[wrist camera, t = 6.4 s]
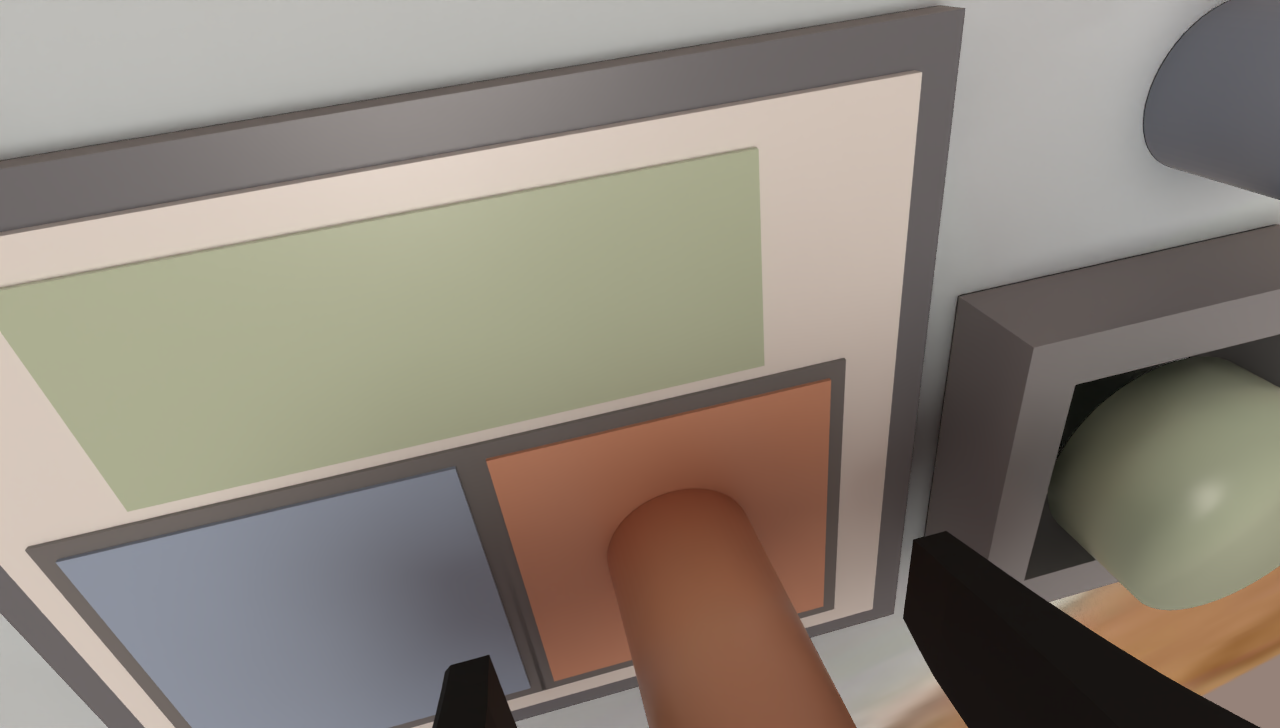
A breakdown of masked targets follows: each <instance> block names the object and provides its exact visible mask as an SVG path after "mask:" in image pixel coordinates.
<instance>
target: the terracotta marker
mask: <svg viewBox="0 0 1280 728" xmlns="http://www.w3.org/2000/svg"><path fill="white" fill-rule="evenodd" d="M607 561H608V566H609V570H610V574H611V578H612V582H613V586H614V590H615V594H616V598H617V602H618V606H619V610H620V614H621V618H622V622H623V626H624V630H625V634H626V638H627V642H628V646H629V650H630V654H631V657H632V661H633V665H634V669H635V673H636V677H637V681H638V685H639V689H640V693H641V697H642V701H643V705H644V709H645V713H646V717H647V721H648V725H649V728H856V726H855V724H854V722H853V720H852V718H851V716H850V714H849V712H848V710H847V708H846V706H845V704H844V703H843V701H842V699H841V697H840V695H839V693H838V691H837V689H836V687H835V685H834V683H833V681H832V679H831V677H830V676H829V674H828V672H827V670H826V668H825V666H824V664H823V662H822V660H821V658H820V656H819V654H818V652H817V650H816V649H815V647H814V645H813V643H812V641H811V639H810V637H809V635H808V633H807V631H806V629H805V627H804V625H803V623H802V622H801V620H800V618H799V616H798V614H797V612H796V610H795V608H794V606H793V604H792V602H791V600H790V598H789V596H788V595H787V593H786V591H785V589H784V587H783V585H782V583H781V581H780V579H779V577H778V575H777V573H776V571H775V569H774V568H773V566H772V564H771V562H770V560H769V558H768V556H767V554H766V552H765V550H764V548H763V546H762V544H761V542H760V541H759V539H758V537H757V535H756V533H755V531H754V529H753V527H752V525H751V523H750V521H749V519H748V517H747V516H746V514H745V512H744V510H743V509H742V507H741V506H740V505H739V504H738V503H737V502H736V501H735V500H734V499H732V498H731V497H729V496H727V495H725V494H723V493H720V492H717V491H713V490H708V489H684V490H677V491H673V492H669V493H666V494H663V495H660V496H658V497H656V498H654V499H651V500H649V501H648V502H646V503H644V504H643V505H641V506H640V507H638V508H637V509H635V510H634V511H633V512H632V513H630V514H629V515H628V516H627V517H626V518H625V519H624V520H623V521H622V523H621V524H620V525H619V526H618V528H617V529H616V531H615V532H614V534H613V536H612V538H611V541H610V544H609V547H608V553H607Z"/></svg>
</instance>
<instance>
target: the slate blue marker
mask: <svg viewBox="0 0 1280 728" xmlns="http://www.w3.org/2000/svg"><path fill="white" fill-rule="evenodd" d="M1144 134H1145V140H1146V143H1147V146H1148V148H1149V150H1150V152H1151V153H1152V155H1153V156H1154V157H1155V158H1156V159H1157V160H1158V161H1159V162H1161V163H1162V164H1164V165H1166V166H1168V167H1171V168H1175V169H1178V170H1181V171H1185V172H1188V173H1191V174H1195V175H1198V176H1201V177H1205V178H1208V179H1211V180H1215V181H1218V182H1221V183H1225V184H1228V185H1231V186H1235V187H1238V188H1241V189H1245V190H1248V191H1251V192H1255V193H1258V194H1261V195H1265V196H1268V197H1271V198H1275V199H1278V200H1280V0H1230V1H1228V2H1226V3H1224V4H1222V5H1220V6H1218V7H1216V8H1215V9H1213V10H1212V11H1210V12H1209V13H1207V14H1206V15H1205V16H1203V17H1202V18H1201V19H1200V20H1199V21H1197V22H1196V23H1195V24H1194V25H1193V26H1192V27H1191V28H1190V29H1189V30H1188V31H1187V32H1186V33H1185V34H1184V35H1183V36H1182V38H1181V39H1180V40H1179V41H1178V42H1177V43H1176V45H1175V46H1174V48H1173V49H1172V50H1171V52H1170V53H1169V54H1168V56H1167V58H1166V59H1165V61H1164V62H1163V64H1162V66H1161V68H1160V69H1159V71H1158V73H1157V75H1156V77H1155V80H1154V82H1153V85H1152V87H1151V89H1150V93H1149V96H1148V99H1147V103H1146V108H1145V115H1144Z"/></svg>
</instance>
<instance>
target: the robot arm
mask: <svg viewBox="0 0 1280 728" xmlns="http://www.w3.org/2000/svg"><path fill="white" fill-rule="evenodd" d="M903 619H904V621H905V623H906V625H907V627H908V629H909V631H910V632H911V634H912V636H913V638H914V640H915V642H916V644H917V646H918V648H919V650H920V652H921V654H922V656H923V657H924V659H925V661H926V663H927V665H928V666H929V668H930V670H931V672H932V674H933V676H934V677H935V679H936V680H937V682H938V683H939V685H940V686H941V688H942V689H943V691H944V692H945V694H946V695H947V697H948V698H949V700H950V701H951V703H952V704H953V706H954V707H955V709H956V710H957V712H958V713H959V715H960V716H961V718H962V719H963V720H964V722H965V723H966V725H967V726H968V728H1260V727H1258V726H1256V725H1254V724H1252V723H1250V722H1248V721H1246V720H1245V719H1242V718H1241V717H1239V716H1237V715H1235V714H1233V713H1232V712H1230V711H1228V710H1226V709H1224V708H1222V707H1220V706H1219V705H1216V704H1215V703H1213V702H1211V701H1209V700H1207V699H1206V698H1204V697H1202V696H1200V695H1198V694H1196V693H1194V692H1193V691H1191V690H1189V689H1187V688H1185V687H1184V686H1182V685H1180V684H1178V683H1177V682H1175V681H1173V680H1171V679H1170V678H1168V677H1166V676H1165V675H1163V674H1161V673H1159V672H1158V671H1156V670H1154V669H1153V668H1151V667H1149V666H1148V665H1146V664H1145V663H1143V662H1141V661H1140V660H1138V659H1136V658H1135V657H1133V656H1131V655H1130V654H1128V653H1126V652H1125V651H1123V650H1121V649H1120V648H1118V647H1117V646H1115V645H1113V644H1112V643H1110V642H1109V641H1107V640H1106V639H1104V638H1102V637H1101V636H1099V635H1098V634H1096V633H1095V632H1093V631H1092V630H1090V629H1088V628H1087V627H1085V626H1084V625H1082V624H1081V623H1079V622H1078V621H1076V620H1075V619H1073V618H1072V617H1070V616H1069V615H1067V614H1066V613H1064V612H1063V611H1061V610H1060V609H1058V608H1057V607H1055V606H1054V605H1052V604H1051V603H1049V602H1048V601H1046V600H1045V599H1043V598H1042V597H1040V596H1039V595H1038V594H1036V593H1035V592H1033V591H1032V590H1030V589H1029V588H1027V587H1026V586H1024V585H1023V584H1022V583H1020V582H1019V581H1017V580H1016V579H1014V578H1013V577H1012V576H1010V575H1009V574H1007V573H1006V572H1004V571H1003V570H1002V569H1000V568H999V567H997V566H996V565H994V564H993V563H992V562H990V561H989V560H987V559H986V558H985V557H983V556H982V555H980V554H979V553H977V552H976V551H975V550H973V549H972V548H970V547H969V546H968V545H966V544H965V543H963V542H962V541H960V540H959V539H957V538H956V537H955V536H953V535H952V534H950V533H949V532H947V531H944V532H940V533H936V534H932V535H929V536H925V537H921V538H918V539H914V540H913V546H912V554H911V561H910V569H909V577H908V584H907V592H906V600H905V607H904V615H903ZM432 728H517V726H516V724H515V721H514V718H513V716H512V713H511V710H510V708H509V705H508V702H507V700H506V697H505V695H504V692H503V689H502V687H501V684H500V681H499V679H498V676H497V674H496V671H495V668H494V666H493V663H492V660H491V658H490V655H486V656H482V657H479V658H475V659H471V660H468V661H464V662H460V663H456V664H453V665H450V666H449V667H448V669H447V670H446V671H445V674H444V679H443V684H442V689H441V693H440V698H439V702H438V706H437V710H436V715H435V719H434V722H433V726H432Z"/></svg>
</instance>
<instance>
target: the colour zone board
mask: <svg viewBox="0 0 1280 728" xmlns="http://www.w3.org/2000/svg"><path fill="white" fill-rule="evenodd" d="M964 15H965V8H958V7H949V6H934V7H928V8H922V9H916V10H910V11H904V12H898V13H892V14H886V15H880V16H874V17H868V18H862V19H856V20H849V21H843V22H837V23H831V24H825V25H819V26H813V27H807V28H801V29H795V30H789V31H783V32H777V33H771V34H765V35H759V36H753V37H747V38H741V39H735V40H728V41H722V42H716V43H710V44H704V45H698V46H692V47H686V48H680V49H674V50H668V51H662V52H656V53H650V54H644V55H638V56H632V57H626V58H620V59H614V60H607V61H601V62H595V63H589V64H583V65H577V66H571V67H565V68H559V69H553V70H547V71H541V72H535V73H529V74H523V75H517V76H511V77H505V78H499V79H492V80H486V81H480V82H474V83H468V84H462V85H456V86H450V87H444V88H438V89H432V90H426V91H420V92H414V93H408V94H402V95H396V96H390V97H384V98H378V99H371V100H365V101H359V102H353V103H347V104H341V105H335V106H329V107H323V108H317V109H311V110H305V111H299V112H293V113H287V114H281V115H275V116H269V117H263V118H257V119H250V120H244V121H238V122H232V123H226V124H220V125H214V126H208V127H202V128H196V129H190V130H184V131H178V132H172V133H166V134H160V135H154V136H148V137H142V138H136V139H129V140H123V141H117V142H111V143H105V144H99V145H93V146H87V147H81V148H75V149H69V150H63V151H57V152H51V153H45V154H39V155H33V156H27V157H21V158H15V159H8V160H2V161H0V613H1V614H2V615H3V616H4V617H5V618H6V619H7V620H8V622H9V623H10V624H11V625H12V626H13V627H14V628H15V629H16V630H17V631H18V632H19V633H20V634H21V635H22V636H23V637H24V639H25V640H26V641H27V642H28V643H29V644H30V645H31V646H32V647H33V648H34V649H35V650H36V651H37V652H38V653H39V654H40V656H41V657H42V658H43V659H44V660H45V661H46V662H47V663H48V664H49V665H50V666H51V667H52V668H53V669H54V670H55V671H56V673H57V674H58V675H59V676H60V677H61V678H62V679H63V680H64V681H65V682H66V683H67V684H68V685H69V686H70V687H71V688H72V690H73V691H74V692H75V693H76V694H77V695H78V696H79V697H80V698H81V699H82V700H83V701H84V702H85V703H86V704H87V705H88V707H89V708H90V709H91V710H92V711H93V712H94V713H95V714H96V715H97V716H98V717H99V718H100V719H101V720H102V721H103V722H104V724H105V725H106V726H107V727H108V728H432V726H433V722H434V719H435V715H436V710H437V706H438V702H439V698H440V693H441V689H442V684H443V679H444V674H445V671H446V670H447V669H448V667H449V666H450V665H453V664H456V663H460V662H464V661H468V660H471V659H475V658H479V657H482V656H486V655H490V658H491V660H492V663H493V666H494V668H495V671H496V674H497V676H498V679H499V681H500V684H501V687H502V689H503V692H504V695H505V697H506V700H507V702H508V705H509V708H510V710H511V713H512V716H513V718H514V721H515V722H516V721H519V720H523V719H526V718H530V717H533V716H537V715H540V714H544V713H547V712H551V711H554V710H558V709H561V708H565V707H568V706H572V705H575V704H579V703H583V702H586V701H590V700H593V699H597V698H600V697H604V696H607V695H611V694H614V693H618V692H621V691H625V690H628V689H632V688H635V687H639V685H638V681H637V677H636V673H635V669H634V665H633V661H632V657H631V654H630V650H629V646H628V642H627V638H626V634H625V630H624V626H623V622H622V618H621V614H620V610H619V606H618V602H617V598H616V594H615V590H614V586H613V582H612V578H611V574H610V570H609V566H608V561H607V553H608V547H609V544H610V541H611V538H612V536H613V534H614V532H615V531H616V529H617V528H618V526H619V525H620V524H621V523H622V521H623V520H624V519H625V518H626V517H627V516H628V515H629V514H630V513H632V512H633V511H634V510H635V509H637V508H638V507H640V506H641V505H643V504H644V503H646V502H648V501H649V500H651V499H654V498H656V497H658V496H660V495H663V494H666V493H669V492H673V491H677V490H684V489H708V490H713V491H717V492H720V493H723V494H725V495H727V496H729V497H731V498H732V499H734V500H735V501H736V502H737V503H738V504H739V505H740V506H741V507H742V509H743V510H744V512H745V514H746V516H747V517H748V519H749V521H750V523H751V525H752V527H753V529H754V531H755V533H756V535H757V537H758V539H759V541H760V542H761V544H762V546H763V548H764V550H765V552H766V554H767V556H768V558H769V560H770V562H771V564H772V566H773V568H774V569H775V571H776V573H777V575H778V577H779V579H780V581H781V583H782V585H783V587H784V589H785V591H786V593H787V595H788V596H789V598H790V600H791V602H792V604H793V606H794V608H795V610H796V612H797V614H798V616H799V618H800V620H801V622H802V623H803V625H804V627H805V629H806V631H807V633H808V635H809V637H810V638H811V637H814V636H818V635H821V634H825V633H828V632H832V631H835V630H839V629H842V628H846V627H849V626H853V625H856V624H860V623H863V622H867V621H871V620H874V619H878V618H881V617H885V616H888V615H892V614H894V607H895V599H896V590H897V582H898V573H899V565H900V556H901V548H902V539H903V531H904V523H905V514H906V506H907V497H908V489H909V480H910V472H911V463H912V455H913V446H914V438H915V430H916V421H917V413H918V404H919V396H920V387H921V379H922V370H923V362H924V353H925V345H926V337H927V328H928V320H929V311H930V303H931V294H932V286H933V277H934V269H935V260H936V252H937V244H938V235H939V227H940V218H941V210H942V201H943V193H944V184H945V176H946V167H947V159H948V151H949V142H950V134H951V125H952V117H953V108H954V100H955V91H956V83H957V74H958V66H959V58H960V49H961V41H962V32H963V24H964Z"/></svg>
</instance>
